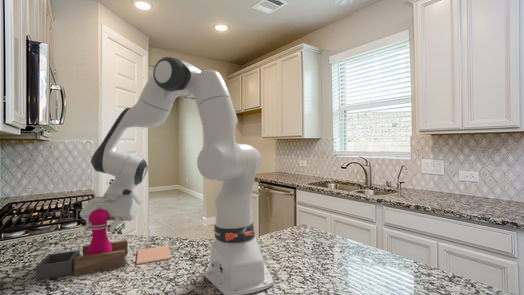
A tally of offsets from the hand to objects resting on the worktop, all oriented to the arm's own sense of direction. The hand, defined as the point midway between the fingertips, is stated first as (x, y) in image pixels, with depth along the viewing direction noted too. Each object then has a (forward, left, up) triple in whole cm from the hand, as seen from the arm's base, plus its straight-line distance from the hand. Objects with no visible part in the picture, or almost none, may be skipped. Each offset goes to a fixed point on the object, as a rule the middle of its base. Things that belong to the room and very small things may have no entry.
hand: (98, 230), depth 94 cm
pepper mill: (+1, 0, -12) cm, 12 cm away
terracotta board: (+1, -17, -11) cm, 21 cm away
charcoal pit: (+1, +11, -11) cm, 16 cm away
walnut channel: (+1, -1, -11) cm, 11 cm away
